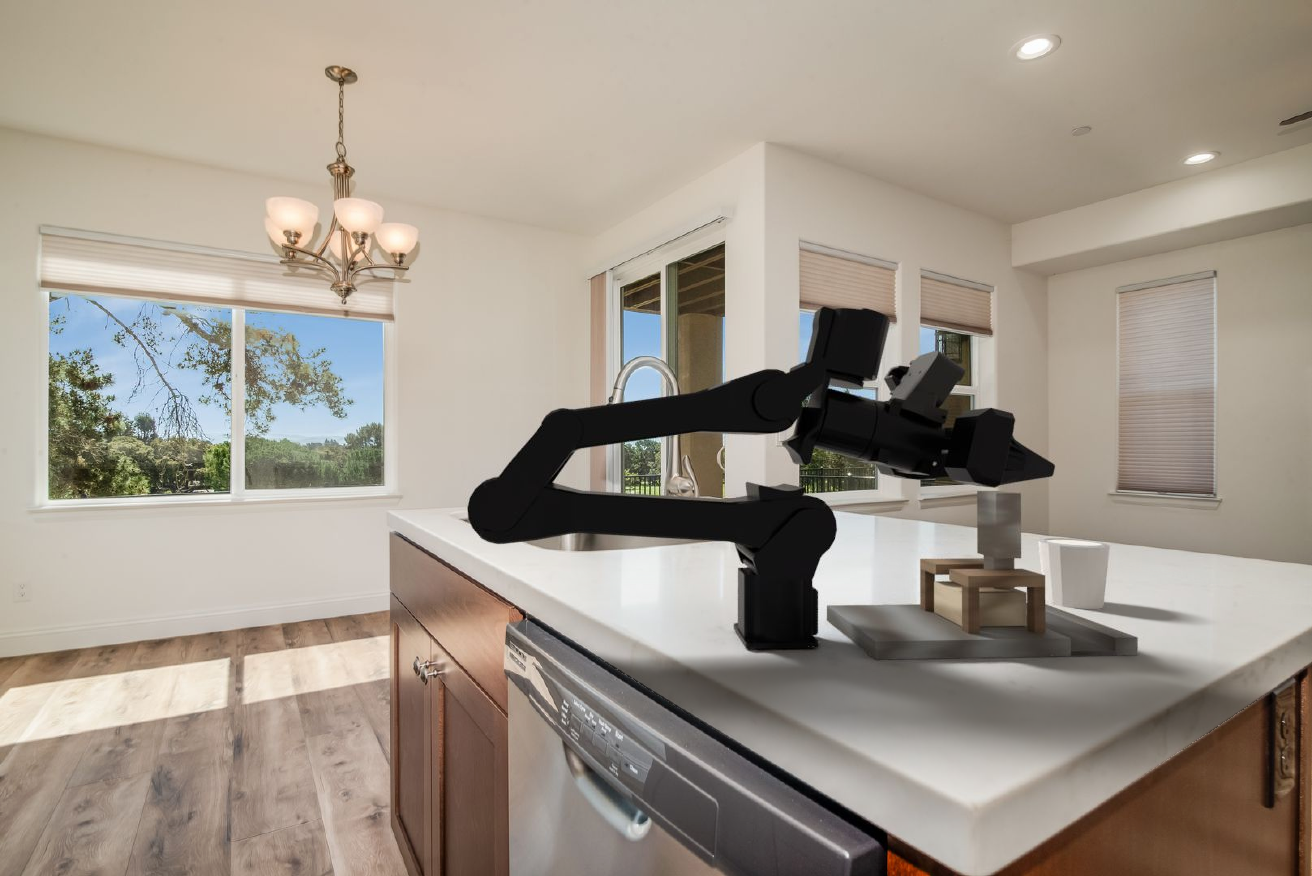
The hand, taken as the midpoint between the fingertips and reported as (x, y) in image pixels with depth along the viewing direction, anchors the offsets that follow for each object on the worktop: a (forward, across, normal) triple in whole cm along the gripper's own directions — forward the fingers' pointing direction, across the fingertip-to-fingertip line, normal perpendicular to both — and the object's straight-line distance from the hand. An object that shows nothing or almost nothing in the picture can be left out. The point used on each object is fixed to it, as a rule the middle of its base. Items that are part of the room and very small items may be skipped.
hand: (1019, 468), depth 59 cm
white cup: (+18, +12, +12) cm, 25 cm away
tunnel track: (-2, 0, +17) cm, 17 cm away
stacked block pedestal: (0, 0, +15) cm, 15 cm away
